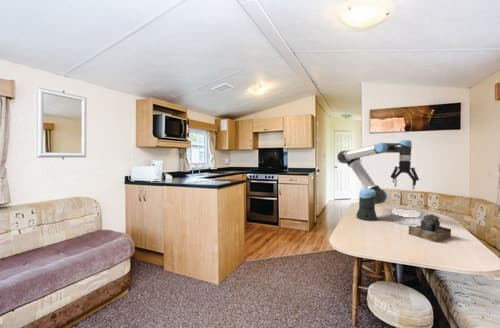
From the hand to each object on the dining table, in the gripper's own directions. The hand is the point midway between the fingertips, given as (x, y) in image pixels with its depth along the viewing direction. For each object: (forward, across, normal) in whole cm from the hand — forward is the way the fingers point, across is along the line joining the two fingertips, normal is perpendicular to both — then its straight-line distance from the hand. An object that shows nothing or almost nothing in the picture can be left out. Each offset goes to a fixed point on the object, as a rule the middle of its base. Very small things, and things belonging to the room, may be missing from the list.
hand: (403, 188), depth 190 cm
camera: (+23, +26, -13) cm, 37 cm away
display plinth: (+27, +26, -14) cm, 40 cm away
